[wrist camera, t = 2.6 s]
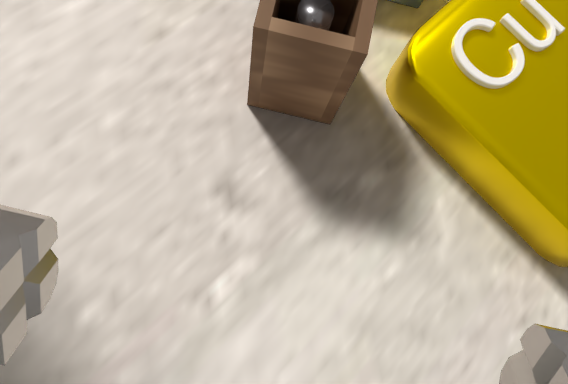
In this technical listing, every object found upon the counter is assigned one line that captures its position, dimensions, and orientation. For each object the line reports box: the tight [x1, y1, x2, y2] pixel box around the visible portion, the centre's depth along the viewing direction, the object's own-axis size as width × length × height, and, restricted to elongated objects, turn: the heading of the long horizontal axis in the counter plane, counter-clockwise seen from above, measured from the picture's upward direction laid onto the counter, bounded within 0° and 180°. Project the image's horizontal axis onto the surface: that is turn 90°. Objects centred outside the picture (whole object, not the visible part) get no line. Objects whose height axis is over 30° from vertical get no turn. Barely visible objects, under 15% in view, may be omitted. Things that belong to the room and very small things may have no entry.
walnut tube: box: [247, 0, 378, 124], centre depth 25 cm, size 5×5×8 cm
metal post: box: [295, 0, 334, 31], centre depth 26 cm, size 2×2×6 cm
